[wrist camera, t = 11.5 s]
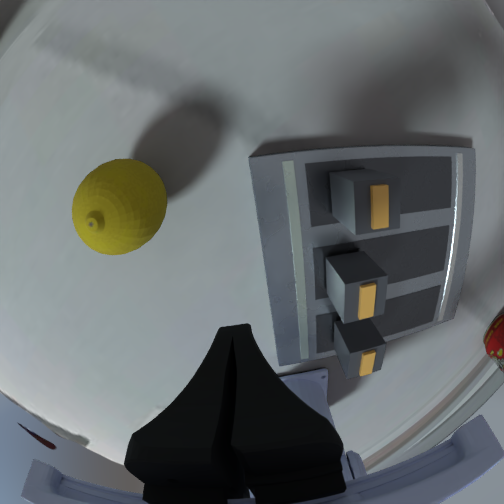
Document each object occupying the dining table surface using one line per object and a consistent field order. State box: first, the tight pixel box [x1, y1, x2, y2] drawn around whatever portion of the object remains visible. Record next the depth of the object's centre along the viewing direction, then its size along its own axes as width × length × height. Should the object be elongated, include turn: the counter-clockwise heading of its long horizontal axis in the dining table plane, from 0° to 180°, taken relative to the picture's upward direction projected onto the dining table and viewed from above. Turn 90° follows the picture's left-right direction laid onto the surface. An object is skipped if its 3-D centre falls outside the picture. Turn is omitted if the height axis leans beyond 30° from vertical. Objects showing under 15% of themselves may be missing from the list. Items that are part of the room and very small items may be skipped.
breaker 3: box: [334, 318, 386, 379], centre depth 20 cm, size 3×3×4 cm
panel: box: [248, 145, 476, 366], centre depth 21 cm, size 18×20×2 cm
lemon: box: [72, 159, 167, 255], centre depth 15 cm, size 6×6×8 cm
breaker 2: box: [326, 251, 388, 324], centre depth 18 cm, size 3×3×4 cm
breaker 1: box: [329, 169, 400, 235], centre depth 16 cm, size 3×3×4 cm
